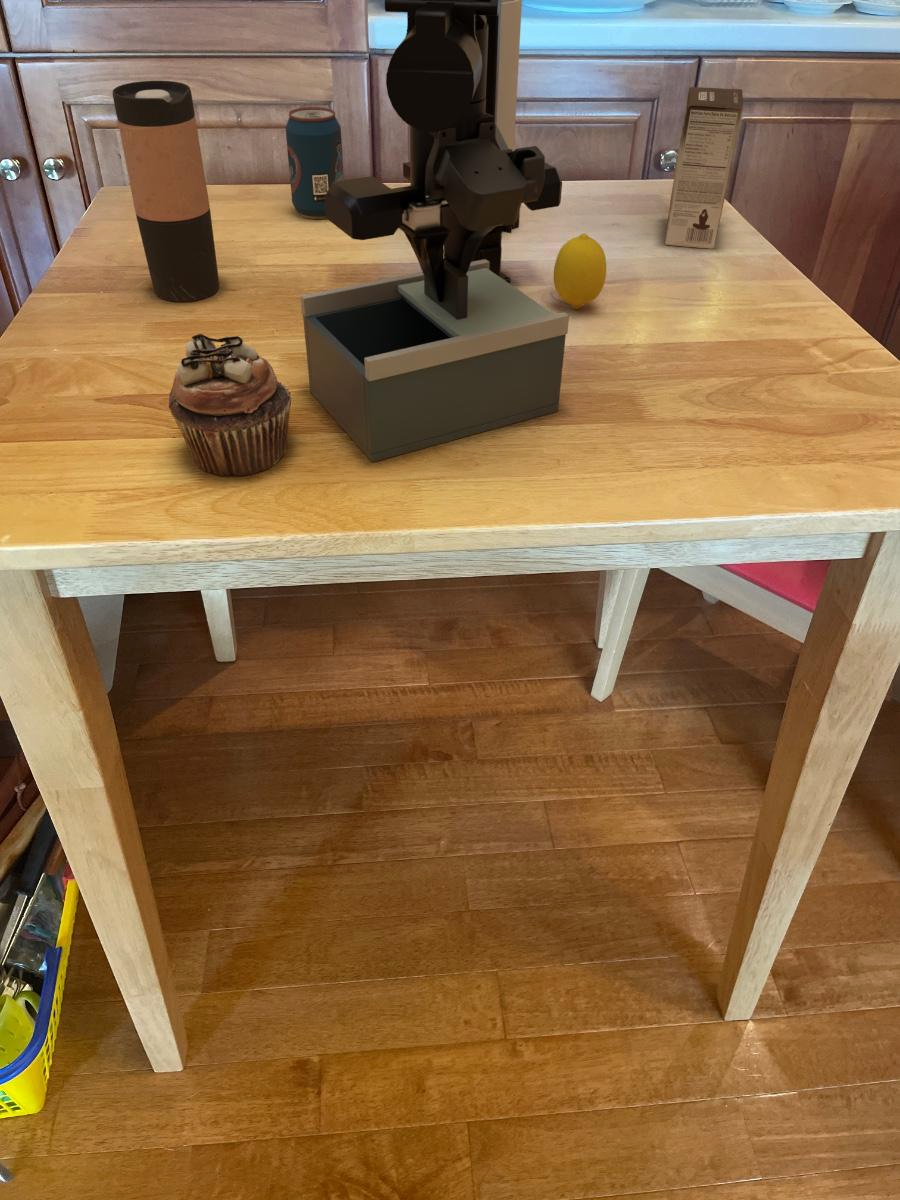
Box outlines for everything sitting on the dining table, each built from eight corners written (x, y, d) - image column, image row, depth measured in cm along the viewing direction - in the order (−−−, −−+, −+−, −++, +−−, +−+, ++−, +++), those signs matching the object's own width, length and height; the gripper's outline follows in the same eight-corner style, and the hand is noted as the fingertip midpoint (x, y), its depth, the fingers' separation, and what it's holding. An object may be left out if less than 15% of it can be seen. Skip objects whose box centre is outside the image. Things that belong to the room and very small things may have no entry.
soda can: (290, 205, 125) (281, 106, 117) (341, 201, 126) (335, 104, 118) (296, 222, 120) (287, 121, 112) (349, 218, 121) (344, 118, 113)
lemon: (606, 302, 102) (615, 228, 97) (595, 322, 98) (604, 247, 93) (557, 295, 103) (564, 222, 98) (544, 314, 99) (551, 239, 94)
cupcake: (301, 476, 75) (289, 362, 69) (179, 488, 74) (155, 373, 67) (291, 417, 82) (279, 309, 76) (180, 427, 81) (158, 318, 74)
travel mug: (157, 276, 106) (118, 80, 93) (225, 275, 106) (196, 79, 93) (146, 304, 100) (103, 99, 87) (218, 302, 101) (186, 98, 87)
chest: (309, 391, 86) (300, 295, 80) (481, 350, 93) (485, 258, 87) (373, 463, 77) (368, 361, 71) (559, 412, 84) (569, 315, 78)
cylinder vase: (511, 240, 116) (524, 6, 99) (411, 239, 116) (408, 4, 99) (508, 207, 125) (519, -12, 109) (416, 205, 125) (413, -14, 109)
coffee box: (665, 220, 122) (688, 84, 112) (715, 225, 121) (742, 88, 111) (663, 245, 115) (687, 103, 105) (716, 250, 114) (745, 107, 104)
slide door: (397, 291, 83) (396, 244, 80) (486, 273, 86) (487, 228, 84) (460, 343, 75) (461, 293, 73) (554, 321, 79) (559, 272, 76)
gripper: (380, 138, 60) (387, 360, 70) (613, 107, 67) (589, 314, 77) (315, 99, 67) (330, 306, 78) (531, 76, 74) (518, 268, 85)
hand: (445, 299), depth 79 cm, fingers closed on slide door
